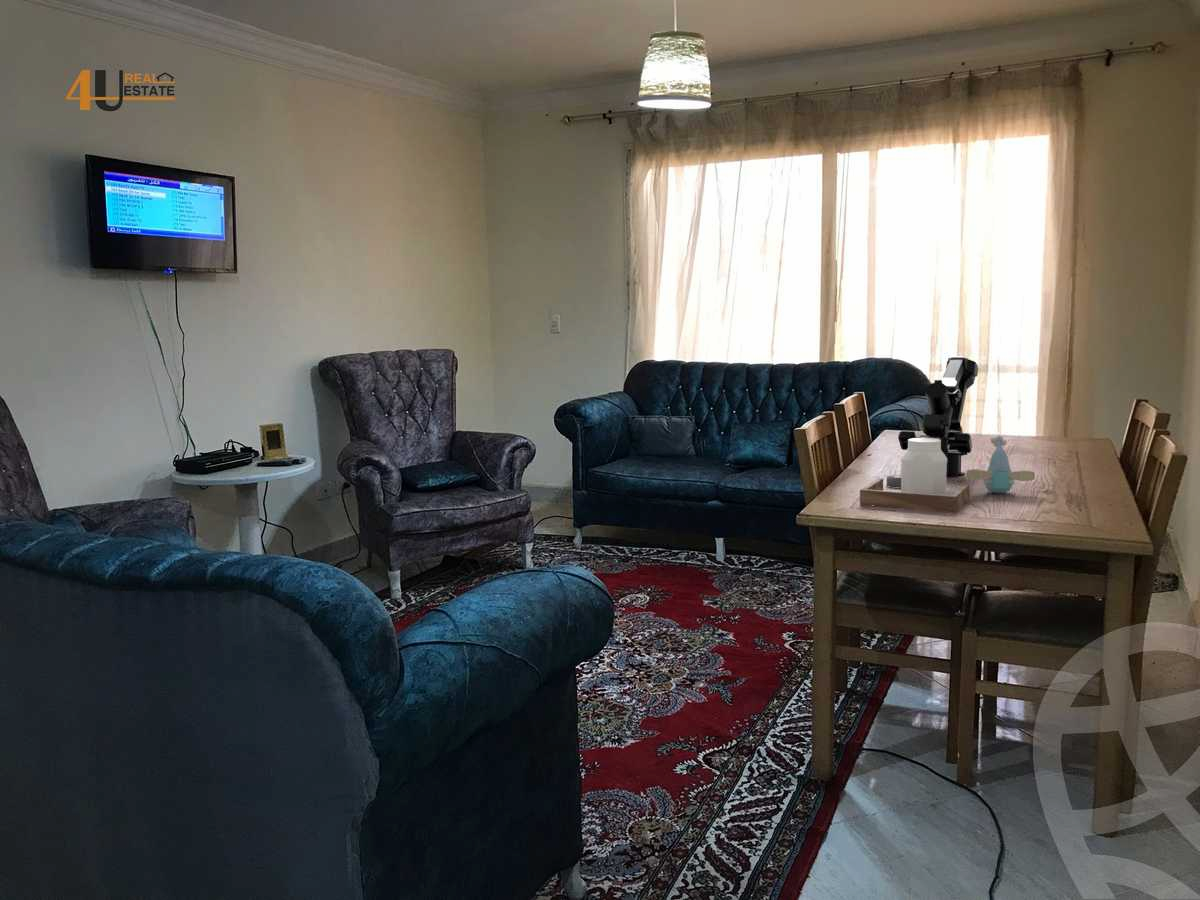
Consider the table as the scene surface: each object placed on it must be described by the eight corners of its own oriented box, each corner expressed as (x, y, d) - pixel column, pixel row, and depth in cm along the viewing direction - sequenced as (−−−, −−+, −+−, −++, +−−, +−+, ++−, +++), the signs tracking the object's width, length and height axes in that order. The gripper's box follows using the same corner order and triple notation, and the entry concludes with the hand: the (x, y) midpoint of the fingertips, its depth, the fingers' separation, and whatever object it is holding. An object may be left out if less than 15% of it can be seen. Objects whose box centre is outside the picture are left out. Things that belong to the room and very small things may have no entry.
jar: (898, 498, 250) (899, 441, 248) (902, 491, 259) (903, 436, 256) (944, 500, 245) (946, 443, 243) (947, 493, 254) (948, 437, 252)
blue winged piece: (1030, 490, 254) (1032, 434, 252) (1034, 497, 244) (1036, 440, 242) (964, 488, 260) (965, 434, 257) (965, 495, 250) (966, 439, 247)
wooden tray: (878, 492, 258) (878, 478, 257) (969, 499, 245) (969, 483, 245) (859, 505, 243) (859, 489, 242) (955, 512, 230) (955, 496, 230)
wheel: (897, 483, 270) (897, 474, 269) (913, 486, 265) (913, 477, 264) (882, 485, 267) (882, 476, 267) (898, 488, 262) (898, 479, 261)
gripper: (900, 402, 263) (889, 446, 256) (971, 403, 254) (962, 450, 246) (906, 426, 271) (896, 470, 263) (975, 429, 261) (967, 475, 254)
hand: (929, 466), depth 256 cm, fingers closed
